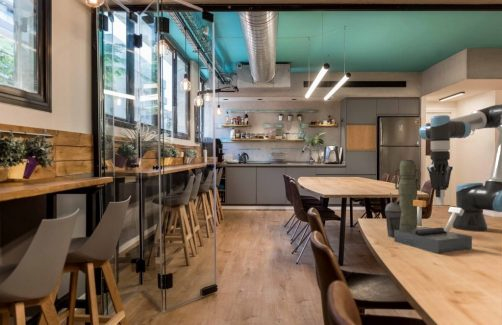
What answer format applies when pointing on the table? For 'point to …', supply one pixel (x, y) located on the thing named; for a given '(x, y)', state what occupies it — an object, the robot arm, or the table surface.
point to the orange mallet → (419, 210)
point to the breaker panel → (433, 240)
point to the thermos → (407, 193)
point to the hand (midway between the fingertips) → (439, 204)
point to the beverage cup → (392, 217)
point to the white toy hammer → (453, 217)
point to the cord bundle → (429, 231)
